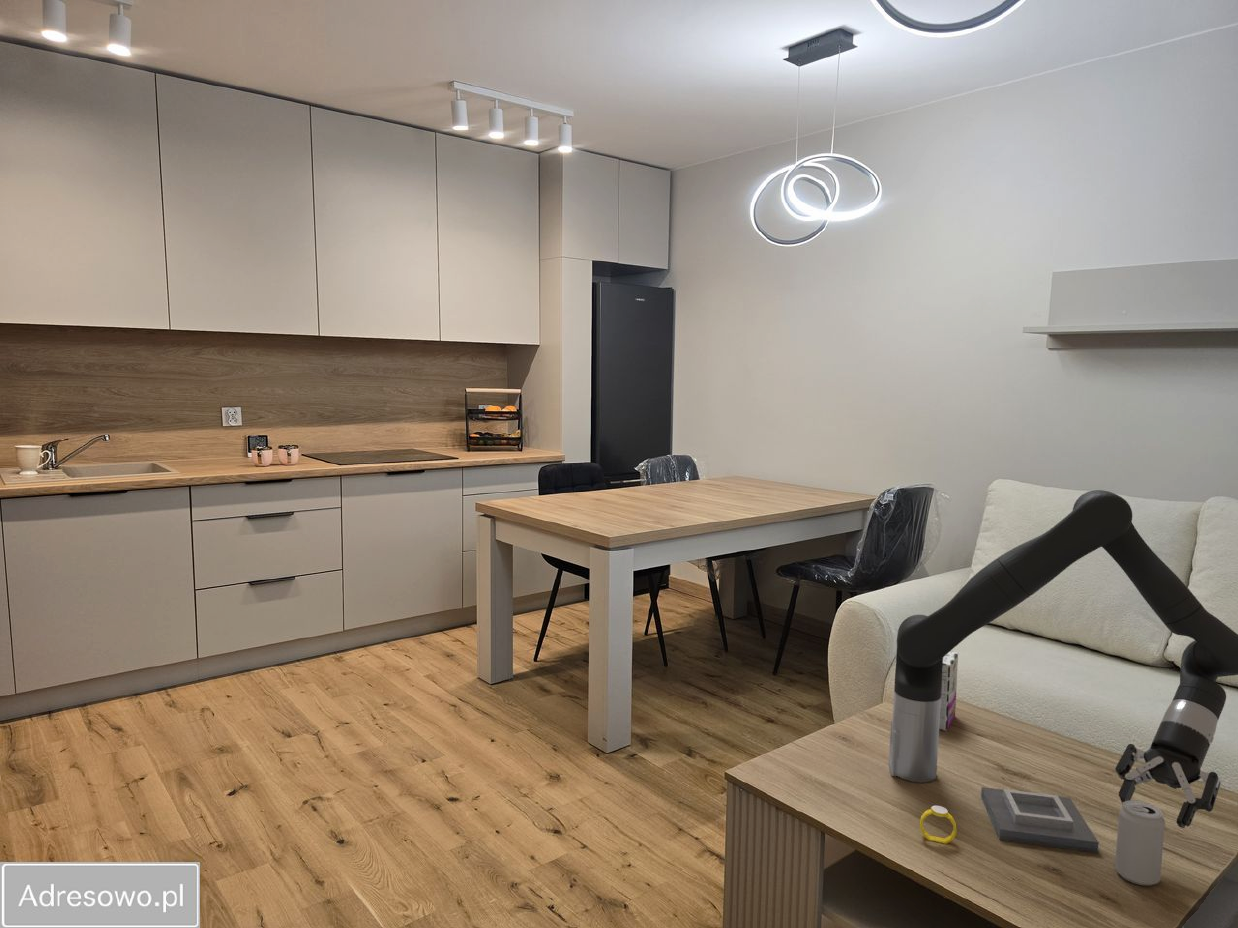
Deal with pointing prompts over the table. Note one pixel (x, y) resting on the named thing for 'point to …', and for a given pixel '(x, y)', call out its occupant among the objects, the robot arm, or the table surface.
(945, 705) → the candy bar box
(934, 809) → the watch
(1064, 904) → the table surface
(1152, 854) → the beverage can
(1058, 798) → the mounting plate
